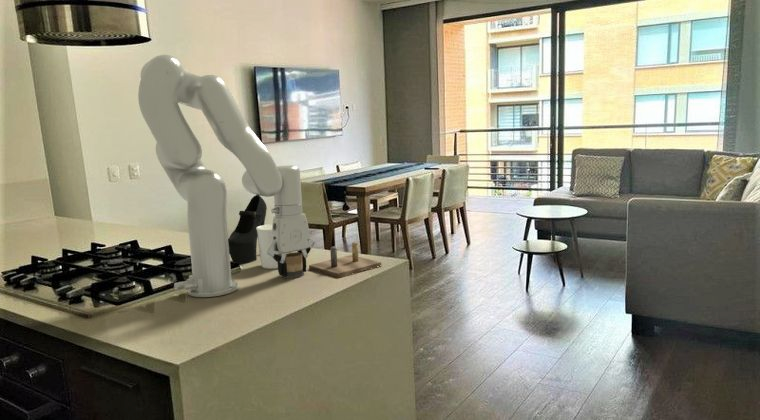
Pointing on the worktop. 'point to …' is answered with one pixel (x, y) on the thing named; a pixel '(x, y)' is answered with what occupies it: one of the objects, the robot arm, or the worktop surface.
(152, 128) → the robot arm
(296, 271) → the sleeve
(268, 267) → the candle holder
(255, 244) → the high-heeled shoe
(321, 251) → the worktop surface
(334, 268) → the pin board
